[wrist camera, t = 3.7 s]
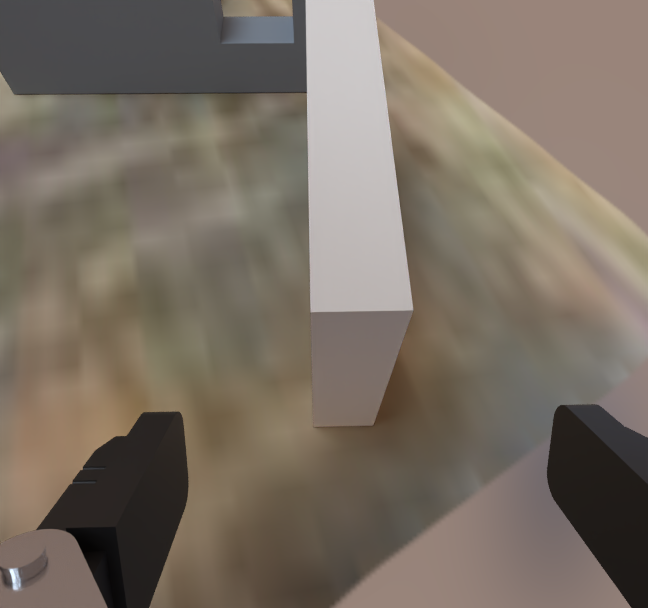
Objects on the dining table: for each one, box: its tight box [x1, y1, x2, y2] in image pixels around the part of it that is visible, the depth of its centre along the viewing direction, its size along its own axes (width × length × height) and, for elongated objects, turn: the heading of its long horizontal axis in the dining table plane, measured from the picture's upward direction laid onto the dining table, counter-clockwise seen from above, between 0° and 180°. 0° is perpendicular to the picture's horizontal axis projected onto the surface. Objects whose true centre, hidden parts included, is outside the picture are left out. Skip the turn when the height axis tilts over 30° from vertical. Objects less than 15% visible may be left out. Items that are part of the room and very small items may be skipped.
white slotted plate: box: [306, 0, 413, 427], centre depth 21 cm, size 16×2×10 cm, turn 2°
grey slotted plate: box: [0, 0, 307, 94], centre depth 28 cm, size 20×2×7 cm, turn 92°
